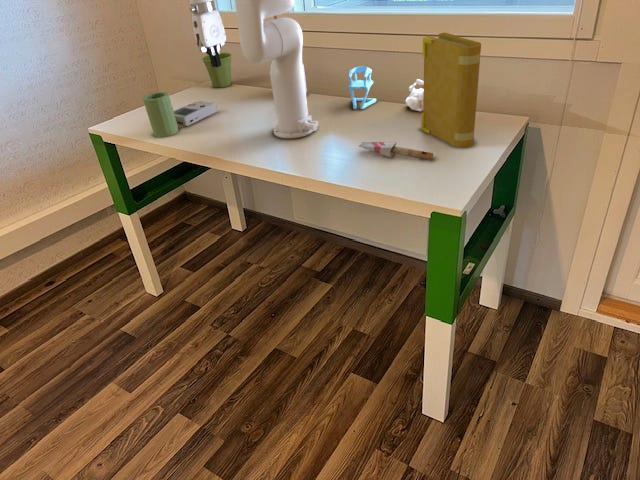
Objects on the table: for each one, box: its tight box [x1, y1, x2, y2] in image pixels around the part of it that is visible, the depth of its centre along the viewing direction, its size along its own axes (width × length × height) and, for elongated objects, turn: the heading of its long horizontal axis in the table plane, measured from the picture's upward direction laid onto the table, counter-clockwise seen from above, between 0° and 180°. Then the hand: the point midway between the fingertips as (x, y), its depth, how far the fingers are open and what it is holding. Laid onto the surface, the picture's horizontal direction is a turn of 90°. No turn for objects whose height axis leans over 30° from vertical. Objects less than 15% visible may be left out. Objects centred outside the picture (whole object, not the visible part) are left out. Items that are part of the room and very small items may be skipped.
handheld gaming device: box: [173, 100, 218, 127], centre depth 166 cm, size 9×15×4 cm, turn 146°
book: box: [420, 32, 482, 149], centre depth 127 cm, size 17×7×25 cm, turn 23°
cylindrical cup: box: [142, 91, 179, 138], centre depth 156 cm, size 8×8×12 cm
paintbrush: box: [358, 141, 434, 161], centre depth 127 cm, size 4×3×20 cm
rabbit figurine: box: [405, 78, 424, 112], centre depth 150 cm, size 12×8×10 cm, turn 54°
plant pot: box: [201, 52, 233, 89], centre depth 193 cm, size 12×12×11 cm
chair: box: [347, 65, 377, 110], centre depth 158 cm, size 8×8×12 cm
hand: (216, 66), depth 168 cm, fingers closed
